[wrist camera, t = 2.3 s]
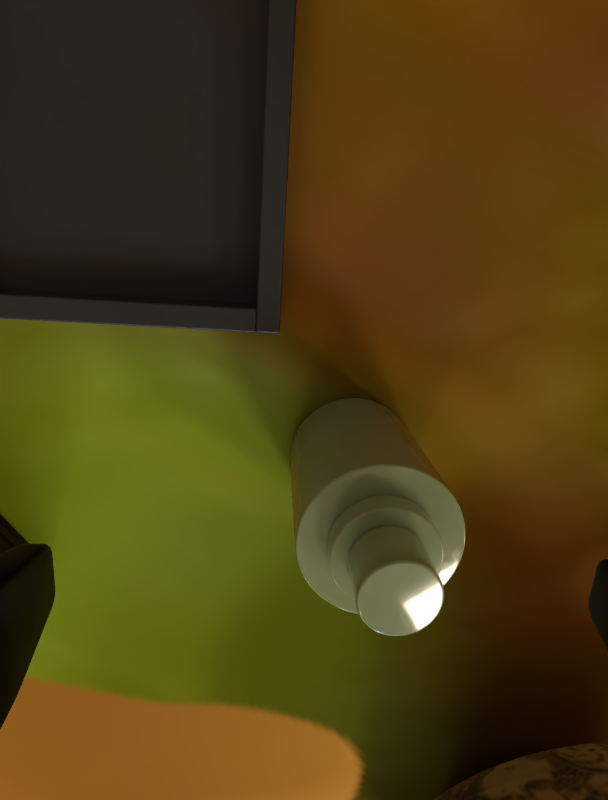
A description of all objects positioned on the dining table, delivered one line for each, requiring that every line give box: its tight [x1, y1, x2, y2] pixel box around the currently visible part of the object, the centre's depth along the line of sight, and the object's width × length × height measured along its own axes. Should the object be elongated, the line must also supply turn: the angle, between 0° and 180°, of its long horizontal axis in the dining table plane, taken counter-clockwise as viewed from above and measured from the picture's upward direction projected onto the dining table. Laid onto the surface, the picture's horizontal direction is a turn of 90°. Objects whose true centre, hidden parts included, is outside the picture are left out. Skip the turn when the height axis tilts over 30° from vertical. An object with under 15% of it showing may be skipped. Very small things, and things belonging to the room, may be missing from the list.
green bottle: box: [290, 398, 466, 636], centre depth 17 cm, size 5×5×9 cm
